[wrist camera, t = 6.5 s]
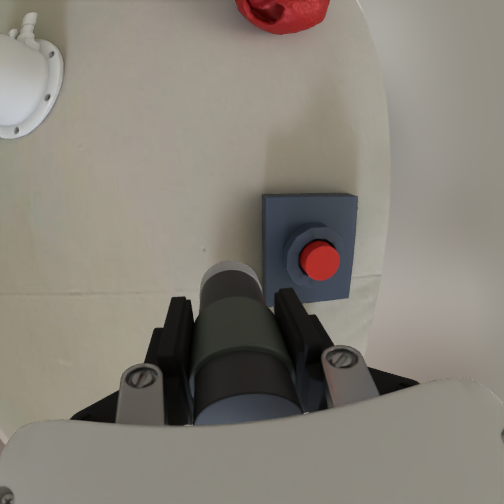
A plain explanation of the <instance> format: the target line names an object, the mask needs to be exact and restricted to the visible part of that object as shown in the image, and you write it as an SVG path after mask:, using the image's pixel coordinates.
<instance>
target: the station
mask: <svg viewBox="0 0 504 504" xmlns="http://www.w3.org/2000/svg"><path fill="white" fill-rule="evenodd" d="M357 202H358V196H355V195H352V194H341V193H307V194H262V258H263V297H264V300H265V303H266V306H267V307H272V306H274V293H275V292H279V289H281V288H291V287H292V288H293V289H294V291H295V293H296V294H297V296H298V298H299V300H300V301H301V303H311V302H320V301H328V300H337V299H344V298H348V297H349V290H350V282H351V274H352V265H353V255H354V244H355V233H356V219H357ZM314 241H324V242H326V243H328V244H329V245H330V246H332V247H333V248H334V249H335V250H336V251H337V253H338V255H339V259H340V263H339V267H338V269H337V271H336V272H335V274H334V275H333V276H331V277H330V278H328V279H326V280H321V281H319V280H314V279H312V278H311V277H309V275H308V274H307V273H306V272H305V270H304V269H303V268H302V266H301V262H300V257H301V253H302V251H303V249H304V248H305V247H306V246H307V245H308V244H310V243H311V242H314Z"/></svg>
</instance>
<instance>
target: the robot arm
mask: <svg viewBox="0 0 504 504" xmlns="http://www.w3.org/2000/svg"><path fill="white" fill-rule="evenodd" d="M36 19H37V13H34V12H31V13H27V14H26V15H24V18H23V21H22V25H21V32H20V35H18V36H17V34H18V29H12V30H10V31H9V34H8V36H6V35H4V34H2V33H0V137H2V138H7V139H12V138H19V137H22V136H24V135H26V134H28V133H30V132H31V131H32V130H34V129H35V128H36V127H37V126H38V125H39V124H40V123H41V122H42V121H43V120H44V118H45V117H46V116H47V114H48V113H49V111H50V110H51V108H52V106H53V105H54V103H55V101H56V98H57V96H58V94H59V91H60V87H61V84H62V79H63V68H64V64H63V59H62V55H61V53H60V51H59V49H58V48H57V47H56V46H55V45H53V44H52V43H51V42H49V41H46V40H40V39H37V40H34V37H35V34H34V33H33V29H34V27H35V23H36ZM274 316H275V317H276V319H277V322H278V324H279V327H280V330H281V332H282V335H283V338H284V340H285V343H286V346H287V348H288V351H289V354H290V356H291V359H292V362H293V364H294V367H295V370H296V381H295V390H296V393H297V395H298V398H299V401H300V404H301V407H302V410H303V413H306V412H309V413H306V414H301V415H295V416H289V417H282V418H276V419H268V420H260V421H252V422H242V423H231V424H216V425H195V426H184V425H192V424H193V406H194V399H193V397H192V396H191V392H190V388H189V383H188V375H189V363H190V352H191V342H192V332H193V326H194V319H193V312H192V305H191V300H186V298H185V296H184V297H172V298H171V302H170V306H169V309H168V313H167V317H166V320H165V324H164V328H155V329H154V331H153V334H152V338H151V341H150V344H149V348H148V351H147V354H146V358H145V361H144V363H141V364H136V365H134V366H131V367H129V368H128V369H127V370H125V372H124V373H123V374H122V377H121V381H120V388H119V390H118V391H116V392H114V393H113V394H111V395H109V396H107V397H105V398H104V399H102V400H100V401H98V402H96V403H94V404H92V405H91V406H89V407H87V408H85V409H83V410H81V411H79V412H78V413H76V414H75V415H73V416H72V417H71V419H70V420H64V419H60V420H45V421H38V422H34V423H30V424H27V425H24V426H23V427H21V428H19V429H18V430H17V431H16V432H15V433H14V434H13V436H12V437H11V438H10V440H9V441H8V443H7V444H6V446H5V448H4V449H3V451H2V453H1V455H0V504H504V403H503V402H502V401H501V400H500V399H499V398H498V397H497V396H496V395H494V394H493V393H492V392H491V391H490V390H489V389H488V388H486V387H485V386H483V385H482V384H481V383H479V382H477V381H475V380H472V379H467V378H445V379H440V380H434V381H430V382H425V383H422V384H420V383H418V382H417V381H415V380H412V379H409V378H405V377H401V376H397V375H394V374H391V373H387V372H383V371H380V370H377V369H373V368H370V367H367V365H366V363H365V361H364V359H363V357H362V355H361V353H360V352H359V351H358V350H356V349H355V348H352V347H350V346H345V345H336V346H334V344H333V342H332V341H331V339H330V337H329V336H328V334H327V332H326V331H325V329H324V328H323V326H322V324H321V323H320V321H319V319H318V318H317V316H316V315H314V314H313V315H308V314H307V312H306V310H305V308H304V307H303V305H302V303H301V301H300V300H299V298H298V296H297V294H296V293H295V291H294V289H293V288H292V287H291V288H281V289H279V292H275V293H274Z"/></svg>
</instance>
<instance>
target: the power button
mask: <svg viewBox="0 0 504 504" xmlns="http://www.w3.org/2000/svg"><path fill="white" fill-rule="evenodd" d="M300 262H301V266H302V268H303V269H304V270H305V272H306V273H307V274H308V275H309V277H311V278H312V279H314V280H319V281H321V280H326V279H328V278H330V277H331V276H333V275H334V274H335V272H336V271H337V269H338V267H339V263H340V259H339V255H338V253H337V251H336V250H335V249H334V248H333V247H332V246H330V245H329V244H328V243H326V242H324V241H314V242H311V243H310V244H308V245H307V246H306V247H305V248H304V249H303V251H302V253H301V257H300Z"/></svg>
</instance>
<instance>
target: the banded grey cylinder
mask: <svg viewBox="0 0 504 504" xmlns="http://www.w3.org/2000/svg"><path fill="white" fill-rule="evenodd" d="M295 381H296V370H295V367H294V364H293V362H292V359H291V356H290V354H289V351H288V348H287V346H286V343H285V340H284V338H283V335H282V332H281V330H280V327H279V324H278V322H277V319H276V317H275V316H274V314H273V313H272V311H271V310H270V309H269V308H268V307H267V306H266V303H265V300H264V297H263V293H262V288H261V285H260V282H259V279H258V277H257V275H256V273H255V272H254V271H253V270H252V269H251V268H250V267H249V266H247V265H246V264H244V263H241V262H237V261H224V262H220V263H218V264H216V265H214V266H212V267H211V268H210V269H209V270H208V271H207V272H206V273H205V275H204V276H203V278H202V281H201V287H200V309H199V315H198V317H197V319H196V320H195V323H194V326H193V332H192V342H191V352H190V363H189V375H188V383H189V388H190V392H191V396H192V397H193V399H194V406H193V426H195V425H216V424H231V423H242V422H252V421H260V420H268V419H276V418H282V417H289V416H295V415H301V414H303V410H302V407H301V404H300V401H299V398H298V395H297V393H296V390H295Z"/></svg>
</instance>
